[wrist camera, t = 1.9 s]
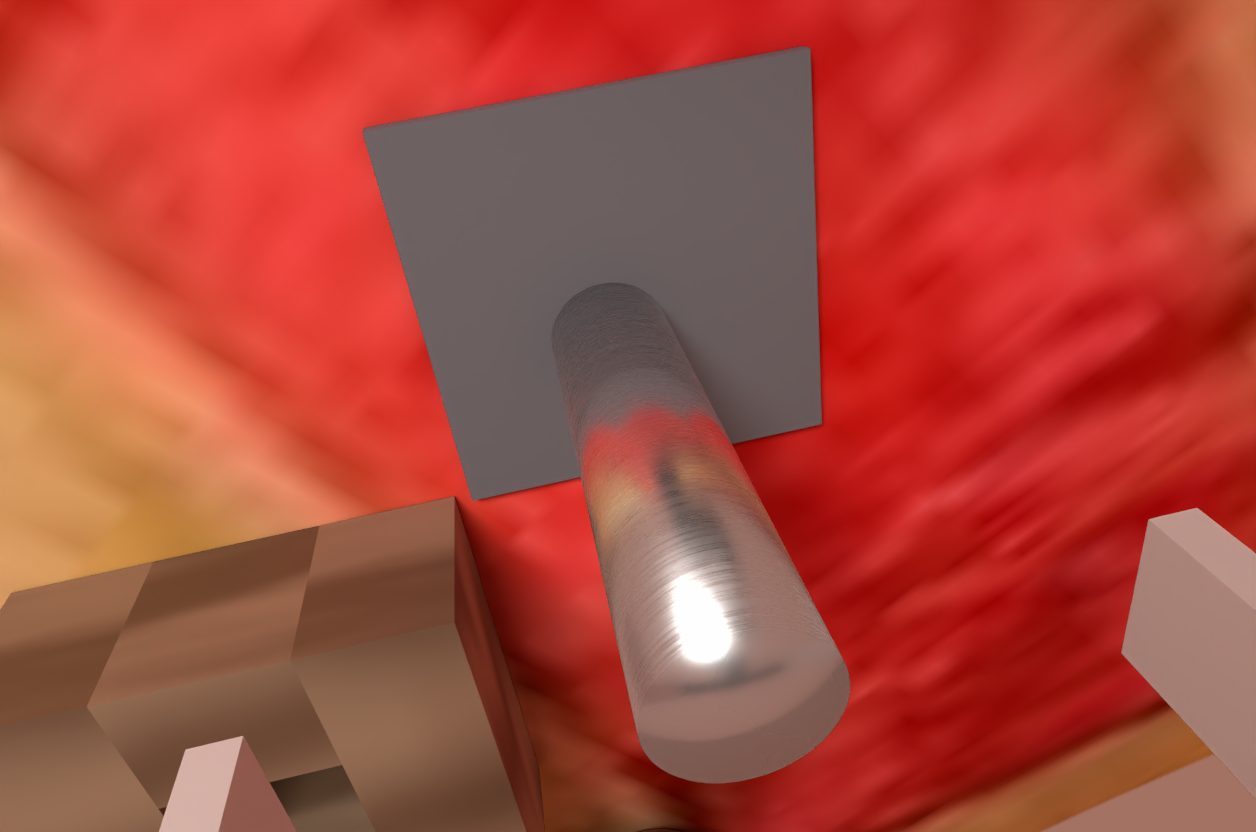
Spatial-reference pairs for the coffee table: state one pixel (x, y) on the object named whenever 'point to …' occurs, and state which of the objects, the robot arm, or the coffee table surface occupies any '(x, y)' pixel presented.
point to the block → (272, 684)
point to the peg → (689, 555)
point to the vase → (660, 830)
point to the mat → (611, 247)
